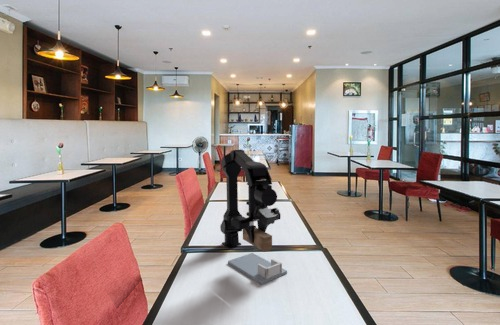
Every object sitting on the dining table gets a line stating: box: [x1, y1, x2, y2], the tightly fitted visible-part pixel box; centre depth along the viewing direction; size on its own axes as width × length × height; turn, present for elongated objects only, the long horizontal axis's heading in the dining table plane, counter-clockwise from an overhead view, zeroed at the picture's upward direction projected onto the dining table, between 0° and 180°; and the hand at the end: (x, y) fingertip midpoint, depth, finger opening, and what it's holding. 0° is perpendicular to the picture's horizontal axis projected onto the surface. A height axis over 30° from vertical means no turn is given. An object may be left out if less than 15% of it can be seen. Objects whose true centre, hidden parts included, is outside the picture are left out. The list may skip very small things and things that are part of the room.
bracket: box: [227, 252, 288, 285], centre depth 116 cm, size 20×12×4 cm, turn 38°
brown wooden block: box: [242, 227, 273, 253], centre depth 113 cm, size 14×4×5 cm, turn 32°
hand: (256, 241), depth 113 cm, fingers closed on brown wooden block, 4 cm apart
